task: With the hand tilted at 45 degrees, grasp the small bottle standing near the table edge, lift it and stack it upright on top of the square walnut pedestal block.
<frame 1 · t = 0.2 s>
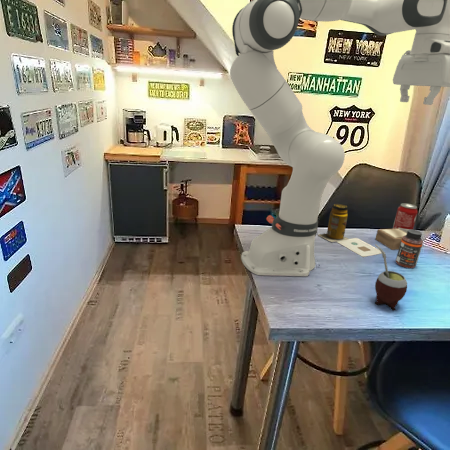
hand: (415, 103, 98), 48 cm above the table, tool pointing down, fingers open, 8 cm apart
supplement bottle: (405, 265, 111), on the table
soda can: (400, 235, 135), on the table
mate gourd: (383, 303, 89), on the table
pedestal: (393, 243, 126), on the table
instruction sheet: (359, 247, 121), on the table
condiment: (332, 237, 128), on the table, touching instruction sheet
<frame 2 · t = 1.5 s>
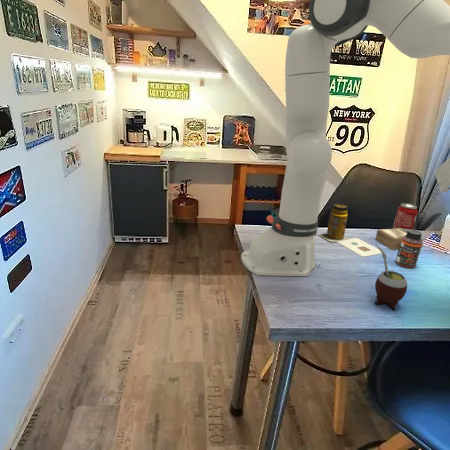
nothing on the table moved.
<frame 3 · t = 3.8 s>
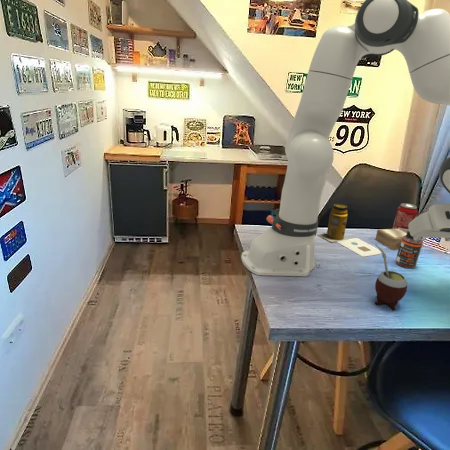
hand: (431, 238, 99), 12 cm above the table, tool tilted 45°, fingers open, 8 cm apart
nothing on the table moved.
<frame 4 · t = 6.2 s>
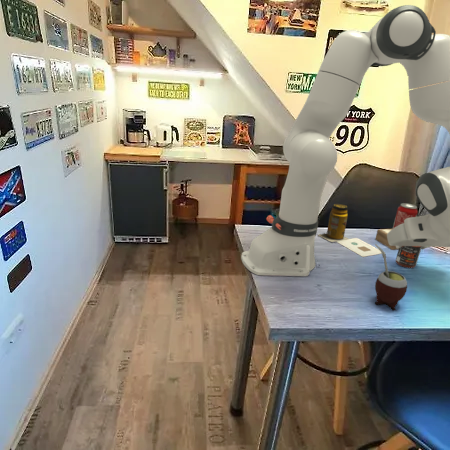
hand: (408, 246, 109), 6 cm above the table, tool tilted 45°, fingers closed on supplement bottle, 6 cm apart
supplement bottle: (405, 265, 111), on the table, touching gripper
everything else where it was.
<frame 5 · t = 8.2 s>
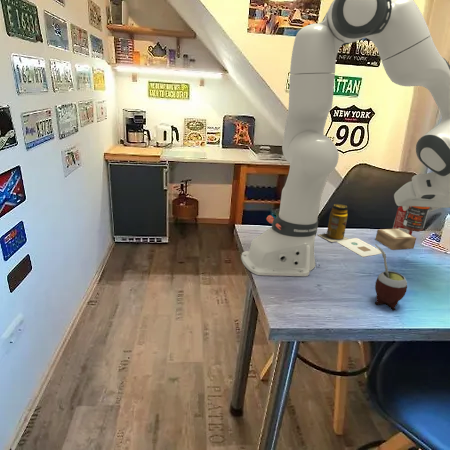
hand: (416, 209, 108), 17 cm above the table, tool tilted 45°, fingers closed on supplement bottle, 6 cm apart
supplement bottle: (412, 229, 109), point 11 cm above the table, touching gripper
everything else where it was.
when the fingers open (11 cm above the table, at t = 10.6 s): supplement bottle stays where it is, resting on pedestal.
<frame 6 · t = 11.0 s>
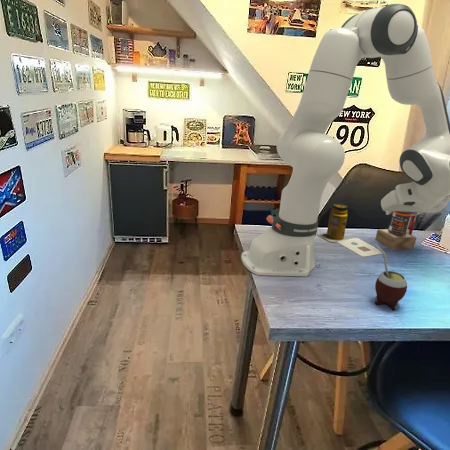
hand: (400, 213, 123), 11 cm above the table, tool tilted 45°, fingers open, 8 cm apart
supplement bottle: (396, 233, 125), point 4 cm above the table, touching pedestal
everything else where it was.
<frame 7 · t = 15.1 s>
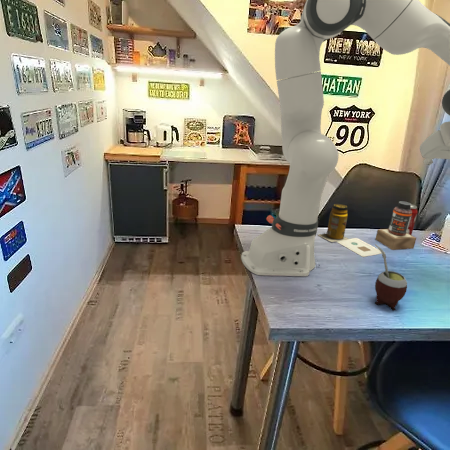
hand: (441, 164, 103), 31 cm above the table, tool tilted 45°, fingers open, 8 cm apart
nothing on the table moved.
at the end: supplement bottle inside the target area on the pedestal (0.1 cm from its centre), point 4.0 cm above the pedestal's base; supplement bottle tilted 0°; the gripper is holding nothing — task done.
